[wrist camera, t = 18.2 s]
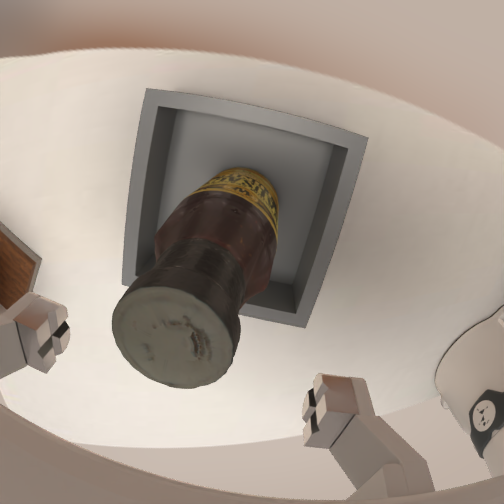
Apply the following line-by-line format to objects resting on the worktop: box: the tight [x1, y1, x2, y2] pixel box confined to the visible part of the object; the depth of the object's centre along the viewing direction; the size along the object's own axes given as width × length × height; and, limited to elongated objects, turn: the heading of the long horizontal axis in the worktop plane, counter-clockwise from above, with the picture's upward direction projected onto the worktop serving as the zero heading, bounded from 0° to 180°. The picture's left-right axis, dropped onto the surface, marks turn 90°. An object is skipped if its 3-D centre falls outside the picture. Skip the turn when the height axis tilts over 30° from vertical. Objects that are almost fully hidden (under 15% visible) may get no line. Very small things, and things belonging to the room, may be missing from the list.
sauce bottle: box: [112, 167, 279, 389], centre depth 18 cm, size 7×6×20 cm
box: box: [122, 88, 368, 328], centre depth 26 cm, size 16×16×6 cm
